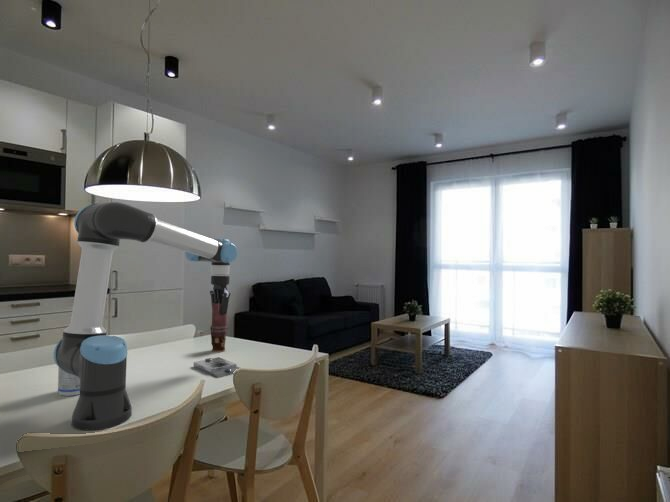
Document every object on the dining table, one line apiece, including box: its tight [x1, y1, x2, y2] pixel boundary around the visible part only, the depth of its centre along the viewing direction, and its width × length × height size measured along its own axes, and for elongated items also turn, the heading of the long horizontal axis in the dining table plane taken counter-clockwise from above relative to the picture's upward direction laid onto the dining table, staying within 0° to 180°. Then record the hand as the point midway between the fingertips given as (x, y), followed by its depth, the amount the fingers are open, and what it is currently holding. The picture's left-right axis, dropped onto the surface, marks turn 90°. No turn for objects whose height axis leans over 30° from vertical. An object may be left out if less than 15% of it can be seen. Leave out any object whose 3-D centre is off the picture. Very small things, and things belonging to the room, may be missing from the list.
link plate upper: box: [193, 356, 237, 372], centre depth 168 cm, size 12×14×3 cm
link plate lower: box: [199, 363, 241, 379], centre depth 164 cm, size 12×14×2 cm
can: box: [211, 302, 228, 337], centre depth 166 cm, size 6×6×14 cm
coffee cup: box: [209, 324, 228, 353], centre depth 197 cm, size 9×8×13 cm
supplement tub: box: [57, 367, 80, 397], centre depth 136 cm, size 10×10×15 cm
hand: (218, 330), depth 166 cm, fingers closed
